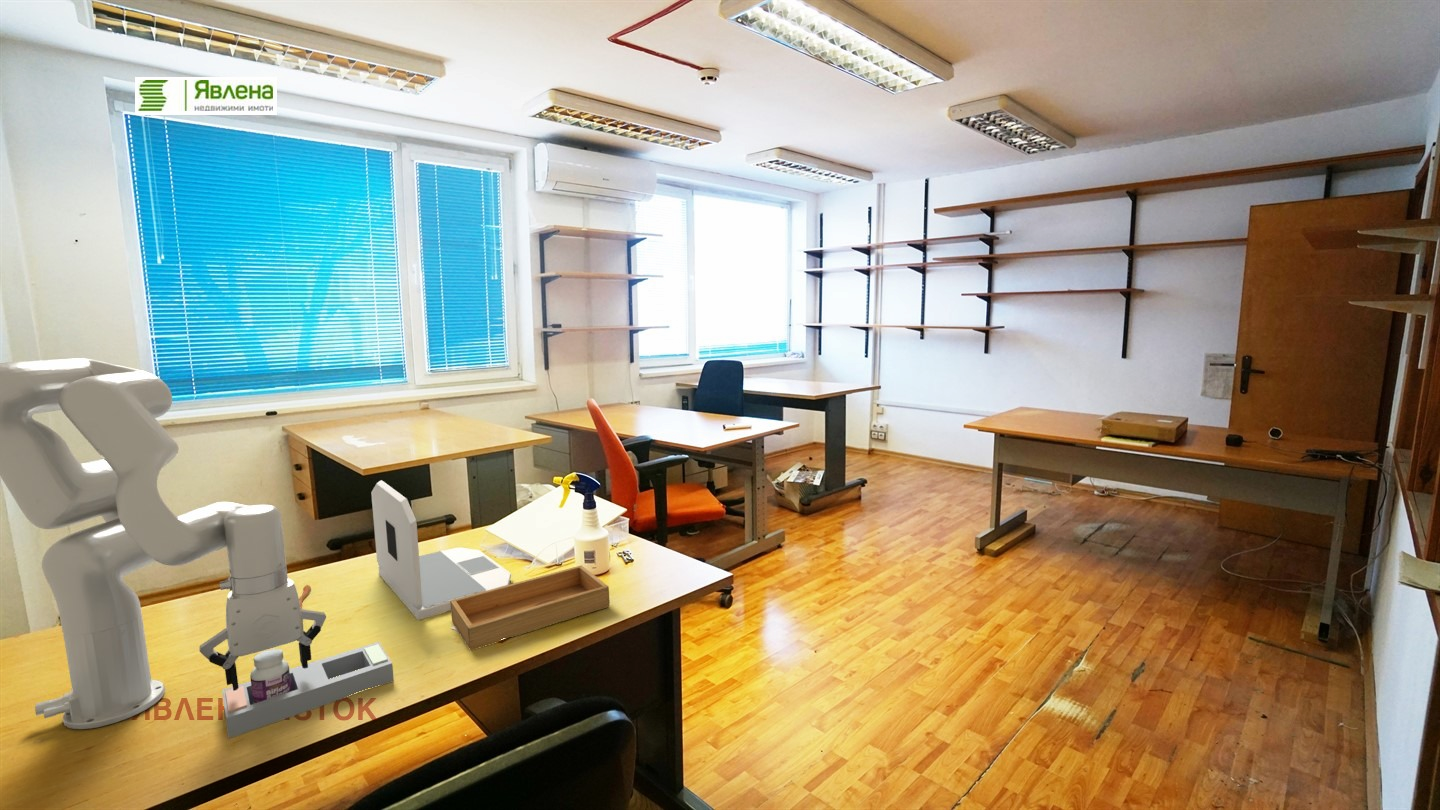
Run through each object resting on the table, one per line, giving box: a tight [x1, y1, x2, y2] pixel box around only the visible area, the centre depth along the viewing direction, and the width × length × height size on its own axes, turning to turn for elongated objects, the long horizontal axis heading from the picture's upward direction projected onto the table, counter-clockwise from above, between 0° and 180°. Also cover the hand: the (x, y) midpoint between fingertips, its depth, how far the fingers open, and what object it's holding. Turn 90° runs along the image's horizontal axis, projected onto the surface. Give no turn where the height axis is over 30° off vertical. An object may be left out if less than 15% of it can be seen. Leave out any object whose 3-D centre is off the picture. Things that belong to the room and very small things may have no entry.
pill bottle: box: [250, 648, 291, 704], centre depth 107 cm, size 5×5×10 cm
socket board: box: [221, 641, 395, 739], centre depth 111 cm, size 24×10×4 cm, turn 131°
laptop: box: [370, 479, 512, 621], centre depth 156 cm, size 33×24×26 cm
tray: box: [450, 565, 611, 651], centre depth 140 cm, size 31×15×6 cm, turn 126°
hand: (270, 675), depth 107 cm, fingers open, 9 cm apart
